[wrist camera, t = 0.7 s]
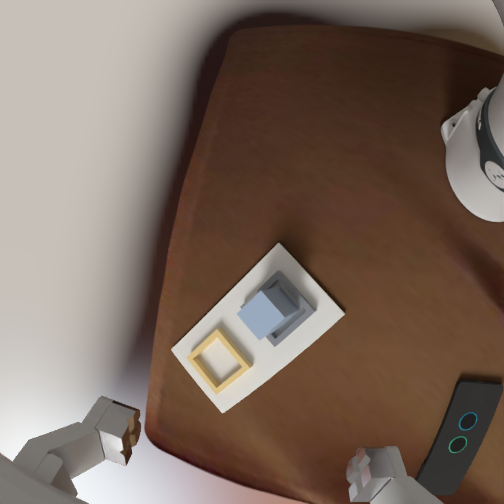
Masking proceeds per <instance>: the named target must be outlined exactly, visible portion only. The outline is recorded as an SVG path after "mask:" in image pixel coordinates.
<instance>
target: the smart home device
mask: <svg viewBox="0 0 504 504" xmlns="http://www.w3.org/2000/svg"><path fill="white" fill-rule="evenodd" d="M502 392H503V385H502V384H501V383H496V382H484V381H473V380H463V379H460V380H459V381H458V382H457V384H456V386H455V388H454V391H453V394H452V397H451V400H450V403H449V405H448V408H447V411H446V413H445V416H444V419H443V421H442V424H441V426H440V428H439V431H438V433H437V436H436V438H435V440H434V442H433V445H432V447H431V449H430V451H429V453H428V455H427V458H426V460H425V462H424V463H423V465H422V467H421V469H420V470H419V472H418V474H417V475H418V476H417V477H416V479H415V480H416V481H417V482H418V483H419V484H420V485H421V486H423V487H424V488H425V489H426V490H427V491H429V492H430V493H431V494H432V495H452V494H453V493H454V492H455V491H456V490H457V488H458V486H459V485H460V483H461V481H462V479H463V478H464V476H465V474H466V472H467V470H468V469H469V467H470V465H471V463H472V461H473V459H474V457H475V455H476V453H477V451H478V449H479V447H480V445H481V443H482V441H483V439H484V436H485V434H486V432H487V430H488V427H489V425H490V423H491V420H492V418H493V416H494V413H495V411H496V408H497V405H498V403H499V400H500V397H501V395H502Z"/></svg>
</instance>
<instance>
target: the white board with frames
mask: <svg viewBox="0 0 504 504" xmlns="http://www.w3.org/2000/svg"><path fill="white" fill-rule="evenodd" d="M273 288H281V289H282V290H283V291H284V293H285V294H286V295H287V296H288V297H289V298H290V299H291V300H292V302H293V303H294V304H295V305H296V306H297V307H298V308H299V309H300V310H299V311H298V312H297V313H296V314H294V315H293V316H292V317H291V318H290V319H289V320H288V321H287V322H286V323H284V324H283V325H282V326H281V327H280V328H279V329H278V330H276V331H274V332H273V333H271V334H269V335H268V336H266V337H264V338H263V339H261V340H258V339H257V337H256V336H255V335H254V334H253V333H252V332H251V330H250V329H249V328H248V327H247V326H246V325H245V323H244V322H243V321H242V320H241V319H240V318H239V316H238V315H237V313H238V312H239V311H240V310H241V309H242V308H243V307H244V306H245V302H246V301H247V300H248V299H249V298H250V297H251V296H252V295H253V294H254V293H255V292H258V291H261V290H267V289H273ZM343 315H345V313H344V312H343V311H342V310H341V309H340V307H339V306H338V305H337V304H336V303H335V302H334V301H333V300H332V299H331V298H330V297H329V295H328V294H327V293H326V292H325V291H324V290H323V289H322V288H321V287H320V286H319V285H318V283H317V282H316V281H315V280H314V279H313V278H312V277H311V276H310V275H309V274H308V273H307V272H306V271H305V269H304V268H303V267H302V266H301V265H300V264H299V263H298V262H297V261H296V260H295V259H294V258H293V257H292V256H291V254H290V253H289V252H288V251H287V250H286V249H285V248H284V247H283V246H282V245H281V244H280V243H278V244H277V245H276V246H275V247H274V248H273V249H272V250H271V251H270V252H269V253H268V254H267V255H266V256H265V257H264V258H263V259H262V260H261V261H260V262H259V263H258V264H257V265H256V266H255V267H254V268H253V269H252V270H251V271H250V272H249V273H248V274H247V275H246V276H245V277H244V278H243V279H242V280H241V281H240V282H239V283H238V284H237V285H236V286H235V287H234V288H233V289H232V290H231V291H230V292H229V293H228V294H227V295H226V296H225V297H224V298H223V299H222V300H221V301H220V302H219V303H218V304H217V305H216V306H215V307H214V308H213V309H212V310H211V311H210V312H209V313H208V314H207V315H206V316H205V317H204V318H203V319H202V320H201V321H200V322H199V323H198V324H197V325H196V326H195V327H194V328H193V329H191V330H190V331H189V332H188V333H187V334H186V335H185V336H184V337H183V338H182V339H181V340H180V341H179V342H178V343H177V344H176V345H175V346H174V347H173V348H172V349H171V350H172V352H173V353H174V354H175V356H176V357H177V358H178V360H179V361H180V362H181V364H182V365H183V366H184V367H185V369H186V370H187V371H188V373H189V374H190V375H191V376H192V378H193V379H194V380H195V381H196V383H197V384H198V385H199V386H200V387H201V389H202V390H203V391H204V392H205V394H206V395H207V396H208V397H209V398H210V400H211V401H212V402H213V403H214V404H215V405H216V407H217V408H218V409H219V410H220V411H221V412H222V414H223V413H224V412H225V411H227V410H228V409H230V408H231V407H232V406H234V405H235V404H236V403H238V402H239V401H240V400H242V399H243V398H245V397H246V396H247V395H249V394H250V393H251V392H253V391H254V390H255V389H256V388H258V387H259V386H260V385H262V384H263V383H264V382H266V381H267V380H268V379H269V378H271V377H272V376H273V375H274V374H276V373H277V372H278V371H279V370H281V369H282V368H283V367H284V366H286V365H287V364H288V363H289V362H291V361H292V360H293V359H294V358H295V357H297V356H298V355H299V354H300V353H301V352H303V351H304V350H305V349H306V348H307V347H308V346H310V345H311V344H312V343H313V342H314V341H315V340H317V339H318V338H319V337H320V336H321V335H322V334H323V333H325V332H326V331H327V330H328V329H329V328H330V327H331V326H332V325H334V324H335V323H336V322H337V321H338V320H339V319H340V318H341V317H342V316H343Z"/></svg>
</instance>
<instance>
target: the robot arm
mask: <svg viewBox="0 0 504 504" xmlns="http://www.w3.org/2000/svg"><path fill="white" fill-rule="evenodd" d="M492 1H493V3H494V5H495V7H496V9H497V11H498V13H499V15H500V18H501V20H502V23H503V25H504V0H492ZM477 97H478V99H477V100H476V101H475V100H473V101H472V102H471V103H470V104H469V105H468V106H467V107H465V108H464V109H463V110H461V111H460V112H458V113H457V114H455V115H454V116H452V117H451V118H450V119H448V120H447V121H445V122H444V123H443V124H442V126H441V134H442V137H443V140H444V142H445V145H446V170H447V175H448V179H449V182H450V184H451V187H452V189H453V191H454V192H455V194H456V196H457V197H458V199H459V200H460V201H461V203H462V204H463V205H464V206H465V207H466V208H467V209H468V210H469V211H471V212H472V213H473V214H475V215H476V216H478V217H480V218H482V219H484V220H488V221H493V222H502V221H504V73H503V76H502V78H501V81H500V83H499V85H498V87H495V88H493V89H491V90H489V89H488V88H486V87H485V88H484V89H482V90H481V91H480V93H479V94H478V96H477ZM452 124H454V125H455V127H453V126H452ZM139 417H140V410H139V409H136V408H133V407H131V406H128V405H125V404H122V403H120V402H117V401H115V400H112V399H109V398H107V397H104V396H101V397H99V398H98V400H97V401H96V403H95V404H94V406H93V407H92V408H91V410H90V411H89V413H88V414H87V416H86V417H85V419H84V420H83V422H82V423H79V422H77V423H74V424H71V425H69V426H66V427H63V428H61V429H58V430H55V431H53V432H50V433H47V434H44V435H41V436H38V437H36V438H33V439H30V440H28V442H27V443H26V444H25V446H24V447H23V448H22V450H21V451H20V452H19V454H18V455H17V456H16V458H15V459H14V460H13V461H11V460H10V459H8V458H7V457H5V456H4V455H2V454H1V453H0V504H89V503H87V502H85V501H82V500H80V499H78V498H76V496H77V494H78V493H77V490H76V488H75V486H74V484H73V483H72V480H71V479H73V478H74V477H76V476H78V475H80V474H82V473H83V472H85V471H87V470H89V469H90V468H92V467H94V466H96V465H97V464H99V463H101V462H102V461H104V460H105V459H107V460H110V461H113V462H115V463H119V464H121V465H124V466H127V463H128V461H129V459H130V457H131V455H132V449H131V447H133V446H135V445H136V444H137V442H138V439H139V436H140V432H141V423H140V422H139V421H138V419H139ZM356 454H357V456H356V457H354V458H352V459H351V460H350V462H349V464H348V467H347V473H346V475H347V480H348V481H349V482H350V483H351V486H350V487H349V495H350V502H369V501H371V502H370V503H371V504H443V503H442V502H441V501H440V500H439V499H437V498H436V497H435V496H434V495H432V494H431V493H430V492H429V491H427V490H426V489H425V488H424V487H423V486H421V485H420V484H419V483H418V482H417V481H416V480H414V479H413V478H412V477H411V476H407V474H406V470H405V467H404V464H403V461H402V458H401V455H400V452H399V449H398V448H397V447H396V446H386V447H384V446H371V447H360V448H359V449H358V450H357V452H356Z"/></svg>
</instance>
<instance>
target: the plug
mask: <svg viewBox="0 0 504 504" xmlns="http://www.w3.org/2000/svg"><path fill="white" fill-rule="evenodd" d="M299 310H300V309H299V308H298V307H297V306H296V305H295V304H294V303H293V302H292V300H291V299H290V298H289V297H288V296H287V295H286V294H285V293H284V291H283V290H282V289H281V288H273V289H267V290H261V291H258V292H255V293H254V294H253V295H252V296H251V297H250V298H249V299H248V300H247V301H246V302H245V306H244V307H243V308H242V309H241V310H240V311H239V312H238V313H237V315H238V316H239V318H240V319H241V320H242V321H243V322H244V323H245V325H246V326H247V327H248V328H249V329H250V330H251V332H252V333H253V334H254V335H255V336H256V337H257V339H258V340H261V339H263V338H264V337H266V336H268V335H269V334H271V333H273V332H274V331H276V330H278V329H279V328H280V327H281V326H282V325H283V324H284V323H286V322H287V321H288V320H289V319H290V318H291V317H292V316H293V315H294V314H296V313H297V312H298V311H299Z"/></svg>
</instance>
